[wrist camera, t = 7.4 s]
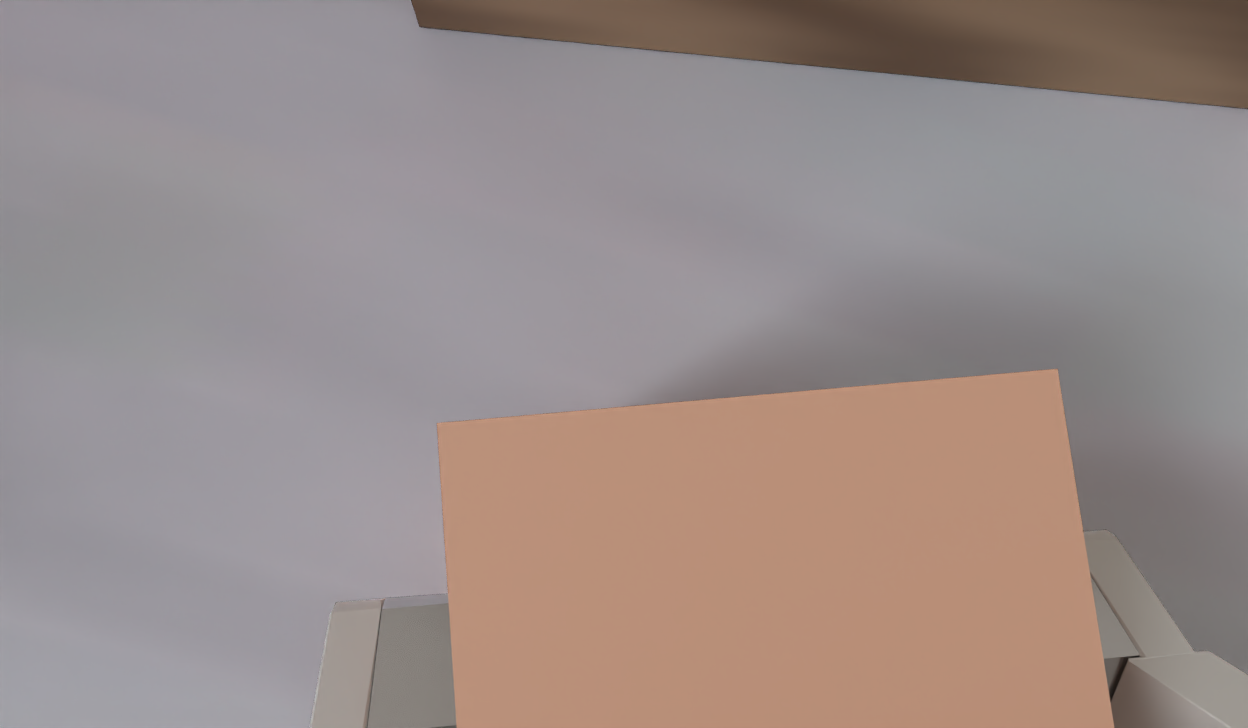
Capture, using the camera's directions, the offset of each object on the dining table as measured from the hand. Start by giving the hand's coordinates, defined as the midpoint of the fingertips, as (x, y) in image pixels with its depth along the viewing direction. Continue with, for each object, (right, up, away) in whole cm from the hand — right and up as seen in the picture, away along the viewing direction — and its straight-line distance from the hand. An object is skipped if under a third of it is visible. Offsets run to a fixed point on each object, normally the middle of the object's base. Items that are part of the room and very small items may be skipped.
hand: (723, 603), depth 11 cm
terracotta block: (0, -1, +4) cm, 4 cm away
